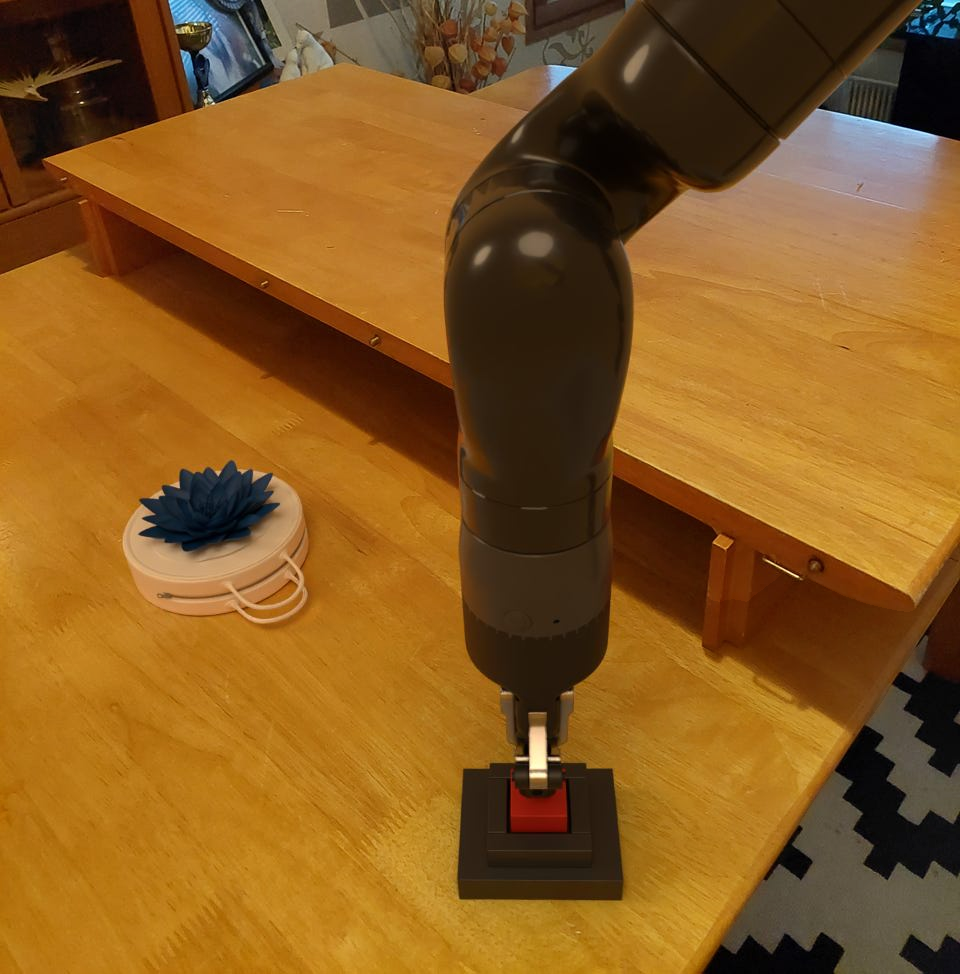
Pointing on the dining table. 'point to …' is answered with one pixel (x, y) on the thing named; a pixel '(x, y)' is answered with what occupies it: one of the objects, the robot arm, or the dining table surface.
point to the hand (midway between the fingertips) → (537, 785)
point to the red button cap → (538, 811)
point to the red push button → (539, 841)
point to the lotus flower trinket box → (218, 543)
